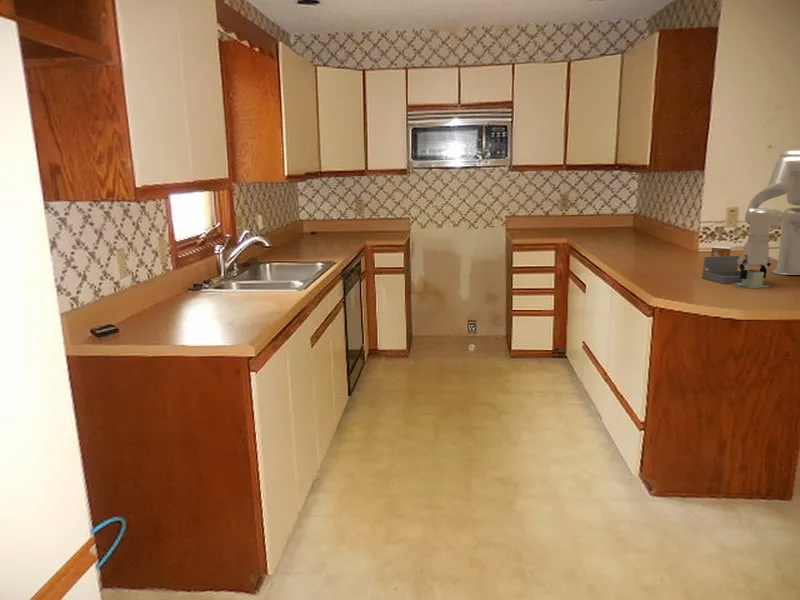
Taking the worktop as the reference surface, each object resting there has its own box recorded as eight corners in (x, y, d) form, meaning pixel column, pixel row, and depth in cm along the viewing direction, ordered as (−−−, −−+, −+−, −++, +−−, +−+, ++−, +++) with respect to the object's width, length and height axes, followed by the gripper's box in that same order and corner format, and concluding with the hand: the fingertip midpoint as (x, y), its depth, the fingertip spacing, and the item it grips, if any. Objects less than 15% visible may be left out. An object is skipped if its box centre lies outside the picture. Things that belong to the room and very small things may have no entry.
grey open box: (734, 276, 283) (736, 255, 281) (758, 282, 269) (761, 260, 267) (700, 277, 280) (703, 256, 277) (723, 283, 266) (726, 261, 263)
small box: (708, 274, 288) (711, 247, 285) (709, 272, 294) (712, 245, 291) (727, 275, 284) (730, 248, 282) (727, 273, 290) (731, 246, 287)
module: (751, 283, 265) (753, 268, 264) (762, 285, 259) (764, 271, 258) (741, 283, 264) (743, 269, 263) (752, 286, 258) (754, 271, 257)
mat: (752, 282, 267) (752, 282, 267) (770, 287, 258) (770, 286, 258) (733, 283, 265) (733, 283, 265) (750, 288, 256) (750, 287, 256)
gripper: (767, 237, 262) (762, 275, 266) (734, 238, 259) (729, 277, 263) (781, 239, 255) (776, 278, 259) (747, 240, 252) (742, 280, 256)
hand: (752, 278), depth 261 cm, fingers open, 9 cm apart
